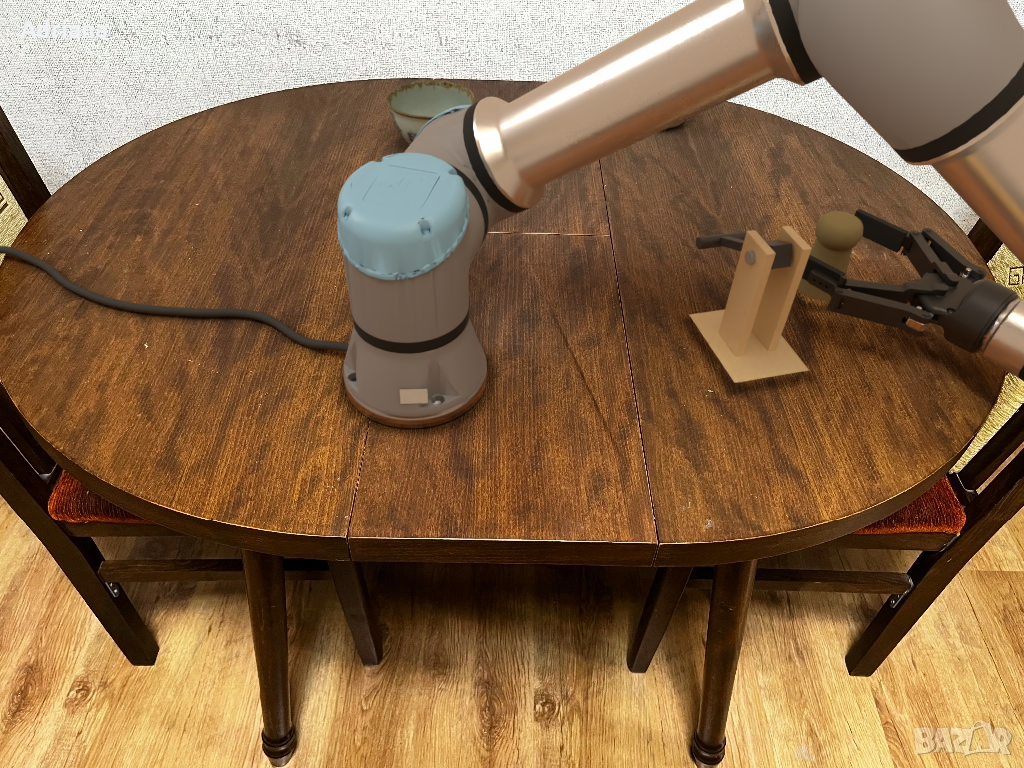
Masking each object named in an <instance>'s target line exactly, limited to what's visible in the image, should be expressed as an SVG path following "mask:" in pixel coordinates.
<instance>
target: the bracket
mask: <svg viewBox="0 0 1024 768" xmlns="http://www.w3.org/2000/svg"><path fill="white" fill-rule="evenodd" d="M777 240H779V241H783V242H787V243H791V244H792V249H791V267H785V268H778V269H771V267H772V264H773V261H774V258H775V254H776V253H775V252H774V251H773V250H772V249H771V247H770V246H769V245H768V244H767V243H766V242H765V241H766V240H765V239H764V238H763V237H762V235H760V234H759V232H757V230H756V229H753V230H752V229H751V230H747V231H746V236H745V240H744V243H743V247H742V250H741V251H740V254H739V257H738V261H737V265H736V269H735V272H734V276H733V279H732V283H731V286H730V290H729V294H728V298H727V301H726V304H725V308H724V309H718V310H712V311H705V312H697V313H691V314H688V315H689V317H690V319H691V320H692V321H693V323H694V325H695V327H697V329H698V330H699V332H700V333H701V336H703V338H704V339H705V341H706V343H707V344H708V345H709V347H710V348H711V350H712V351H713V353H714V354H715V356H716V358H717V359H718V360H719V362H720V363H721V365H722V366H723V368H724V370H725V371H726V373H727V374H728V375H729V377H730V378H731V380H732V381H733V383H735V384H737V383H743V382H748V381H754V380H755V381H756V380H760V379H766V378H771V377H773V378H774V377H779V376H783V375H784V376H785V375H790V374H796V373H802V372H807V371H810V369H809V368H808V367H807V365H806V364H805V363H804V362H803V361H802V359H801V357H799V356H798V354H797V353H796V351H795V350H794V349H793V347H792V346H791V345H790V343H788V341H787V340H786V339H785V338H784V336H783V335H782V334H783V332H784V329H785V326H786V323H787V320H788V318H789V314H790V312H791V309H792V306H793V303H794V301H795V298H796V294H797V291H798V286H799V283H800V281H801V278H802V275H803V272H804V269H805V266H806V264H807V261H808V258H809V255H810V252H811V249H812V246H810V245H809V244H808V243H807V241H805V240H804V238H802V237H801V235H800V234H799V233H798V232H797V231H796V230H795V229H794V228H793V227H792V226H791V225H783V226H781V227H780V231H779V233H778V237H777Z"/></svg>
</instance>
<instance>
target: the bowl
mask: <svg viewBox="0 0 1024 768" xmlns="http://www.w3.org/2000/svg"><path fill="white" fill-rule="evenodd" d="M476 99H477V98H476V95H475V94H474V92H473V91H472V90H471V89H470V88H468V87H466V86H465V85H462V84H460V83H457V82H453V81H449V80H441V79H424V80H415V81H411V82H408V83H403V84H402V85H399V86H397V87H396V88H394V89H392V90H391V91H390V92H388V94H387V96H386V98H385V104H386V106H387V107H388V111H389V115H390V118H391V121H392V124H393V127H394V128H395V130H396V132H397V133H398V135H399V136H400V137H401V138H402V140H404V141H405V142H406V143H408V144H409V145H411V143H412V142H413V140H414V138H415V137H416V135H417V133H418V132H419V131H420V130H421V128H422V127H423V126H424V125H425V124H426V123H427V122H428V121H430V120H431V119H432V118H434V117H435V116H436V115H438V114H440V113H442V112H444V111H445V110H448V109H450V108H453V107H456V106H461V105H473V104H475V103H476Z"/></svg>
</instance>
